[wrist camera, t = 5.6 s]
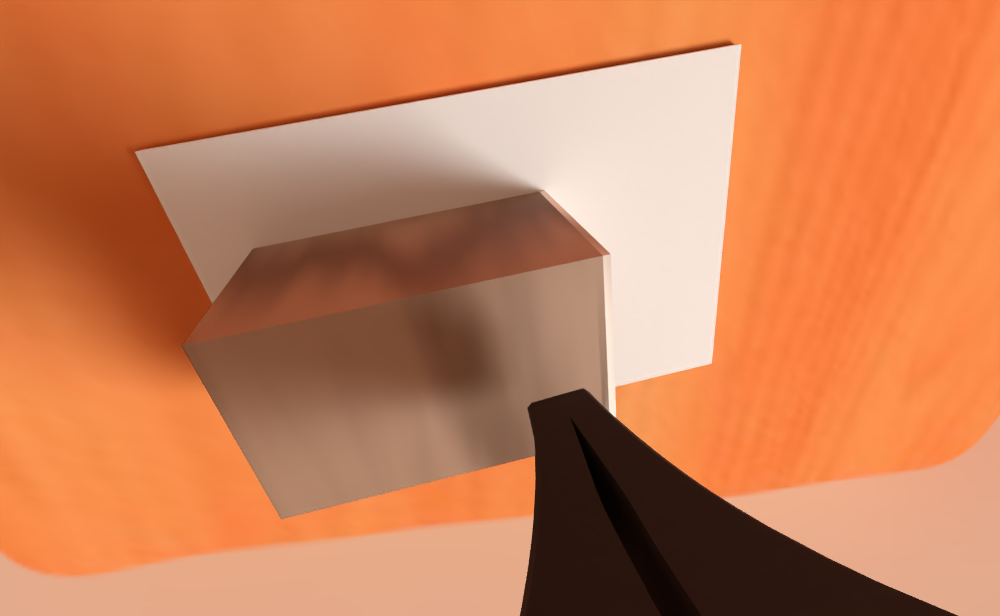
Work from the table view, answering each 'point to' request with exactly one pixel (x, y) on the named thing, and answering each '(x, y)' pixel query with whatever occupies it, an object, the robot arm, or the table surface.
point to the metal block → (405, 347)
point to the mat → (499, 183)
